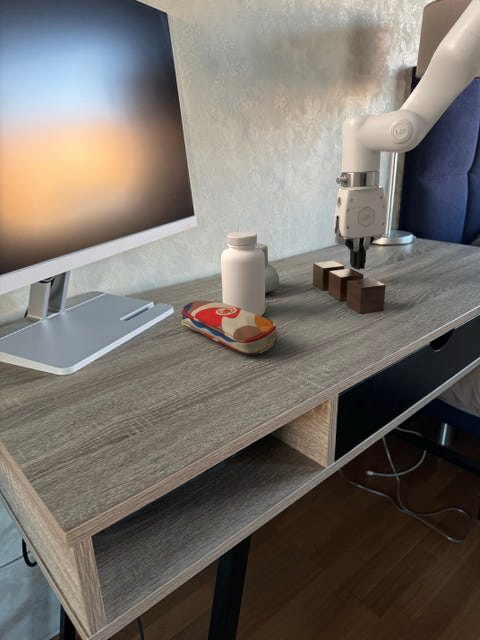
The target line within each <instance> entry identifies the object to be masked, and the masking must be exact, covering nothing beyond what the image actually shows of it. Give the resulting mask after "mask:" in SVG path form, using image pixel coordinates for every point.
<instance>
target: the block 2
mask: <svg viewBox="0 0 480 640" xmlns="http://www.w3.org/2000/svg"><path fill="white" fill-rule="evenodd" d="M385 298H386V284H385V283H383V282H381V281H379V280H376V279H375V278H372V277H367V278H363V279H358V280H350V281H348V282H347V301H346V307H348V308H350V309H351V310H352V311H353V312H354V311H355V312H356V313H357V314H359V315H361V314H368V313H374V312H383V311H384V309H385V308H384V307H385Z"/></svg>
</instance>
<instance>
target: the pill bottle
mask: <svg viewBox="0 0 480 640" xmlns="http://www.w3.org/2000/svg"><path fill="white" fill-rule="evenodd" d="M226 242H227V247H228V248H226V249H224V250H223V251H222V252H221V255H220V268H221V269H220V270H221V272H220V273H221V292H222V295H221V296H222V303H224V304H228V305H231V306H234V307H238V308H240V309H243V310H246V311H248V312H251V313H254V314H256V315H260V316H263V315H265V314H264V313H265V311H266V293H265V256H264V253H263V251H262V250H261V249H259V248H257V247H256V245H257V243H258V234H257V233H256V232H253V231H233V232H229V233H227V235H226Z"/></svg>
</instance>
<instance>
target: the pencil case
mask: <svg viewBox="0 0 480 640" xmlns="http://www.w3.org/2000/svg"><path fill="white" fill-rule="evenodd" d="M181 315H182V318H181V321H180V323H181V325H183V326H184V327H186V328H189V329H190V330H193V331H195V332H197V333H201V334H202V335H203V336H205V337H207V338H209V339H210V340H214V341H215V342H218V343H219V344H222V345H224V346H226V347H228V348H230V349H232V350H234V351H236V352H239V353H242V354H245V355H261V354H262V353H265V352H266V351H268V350H270V349H271V348H272V347H273V346H274V345H275V343H276V342H277V341H278V333H277V325H276V323H275V321H273V320H272V319H270V318H268V317H265V316H263V315H261V316H260V315H256V314H254V313H251V312H248V311H246V310H243V309H240V308H238V307H234V306H231V305H228V304H224V303H223V302H219V301H213V300H195V301H191V302H189V303H187V304H186V305H184V306H183V308H182V311H181Z"/></svg>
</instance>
